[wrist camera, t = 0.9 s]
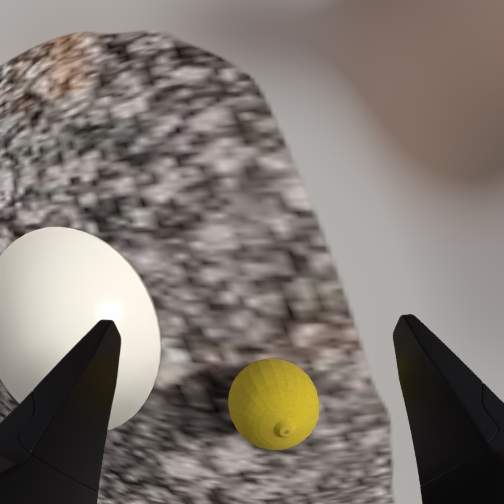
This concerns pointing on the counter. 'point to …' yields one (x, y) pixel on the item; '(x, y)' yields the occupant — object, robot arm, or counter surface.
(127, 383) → the plate
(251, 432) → the lemon
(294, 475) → the counter surface
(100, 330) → the robot arm
